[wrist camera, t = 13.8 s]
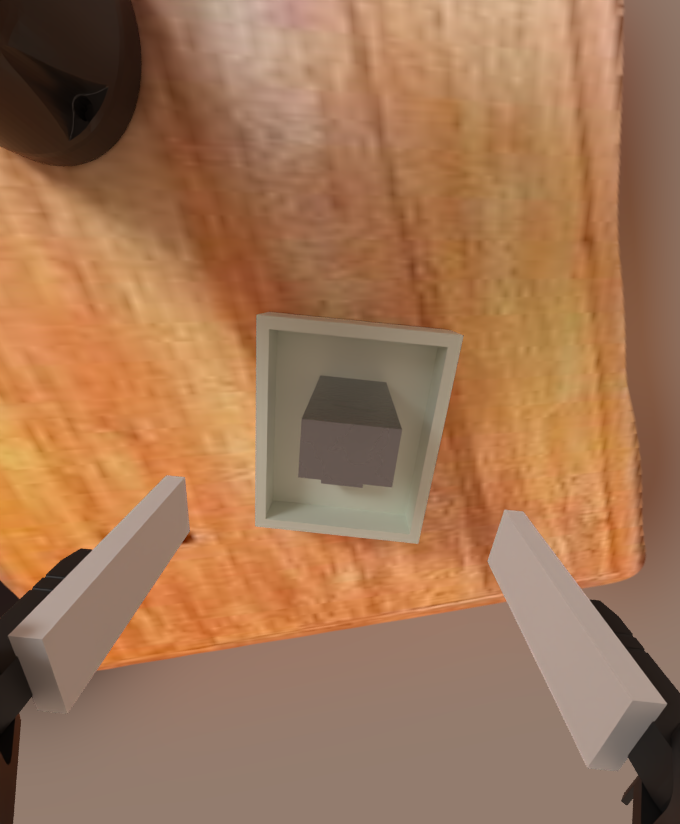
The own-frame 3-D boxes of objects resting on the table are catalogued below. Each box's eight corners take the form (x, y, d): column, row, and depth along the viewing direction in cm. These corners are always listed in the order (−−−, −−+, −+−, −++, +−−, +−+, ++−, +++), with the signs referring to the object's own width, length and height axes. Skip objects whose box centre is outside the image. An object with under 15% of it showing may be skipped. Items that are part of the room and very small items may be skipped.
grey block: (320, 375, 30) (301, 418, 20) (386, 382, 30) (402, 429, 20) (312, 471, 33) (293, 551, 23) (372, 478, 33) (379, 561, 23)
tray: (269, 311, 29) (256, 314, 25) (449, 329, 29) (463, 335, 25) (265, 501, 36) (255, 526, 32) (411, 517, 36) (418, 543, 32)
